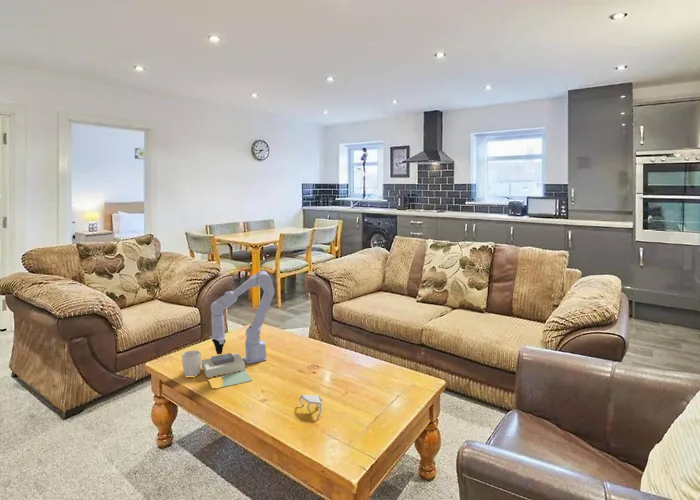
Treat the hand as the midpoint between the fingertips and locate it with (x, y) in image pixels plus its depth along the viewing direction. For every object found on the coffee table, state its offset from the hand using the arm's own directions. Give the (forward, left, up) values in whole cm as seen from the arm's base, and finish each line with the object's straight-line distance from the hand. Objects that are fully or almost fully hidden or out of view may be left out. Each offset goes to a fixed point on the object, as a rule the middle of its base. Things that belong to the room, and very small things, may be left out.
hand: (219, 353), depth 200 cm
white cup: (+14, +6, -5) cm, 16 cm away
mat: (0, +20, -5) cm, 21 cm away
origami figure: (-22, +59, -5) cm, 63 cm away
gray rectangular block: (0, +7, -1) cm, 8 cm away
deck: (0, +7, -5) cm, 9 cm away
